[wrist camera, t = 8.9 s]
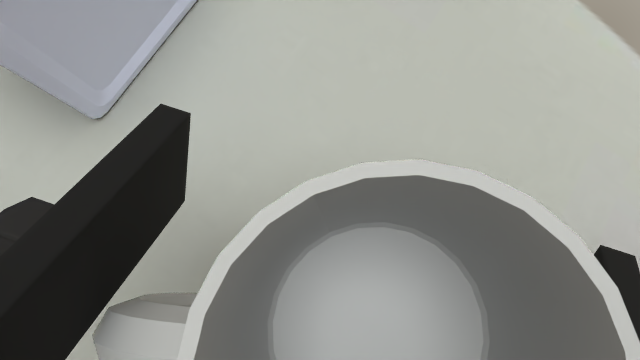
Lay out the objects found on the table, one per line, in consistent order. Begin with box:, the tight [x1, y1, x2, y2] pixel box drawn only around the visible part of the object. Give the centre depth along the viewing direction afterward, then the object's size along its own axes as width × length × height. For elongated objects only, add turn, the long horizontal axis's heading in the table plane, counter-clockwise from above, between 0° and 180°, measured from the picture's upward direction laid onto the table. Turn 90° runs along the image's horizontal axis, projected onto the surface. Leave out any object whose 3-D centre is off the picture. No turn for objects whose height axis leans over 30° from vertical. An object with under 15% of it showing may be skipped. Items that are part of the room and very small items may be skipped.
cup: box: [92, 159, 640, 360], centre depth 13 cm, size 7×10×9 cm
